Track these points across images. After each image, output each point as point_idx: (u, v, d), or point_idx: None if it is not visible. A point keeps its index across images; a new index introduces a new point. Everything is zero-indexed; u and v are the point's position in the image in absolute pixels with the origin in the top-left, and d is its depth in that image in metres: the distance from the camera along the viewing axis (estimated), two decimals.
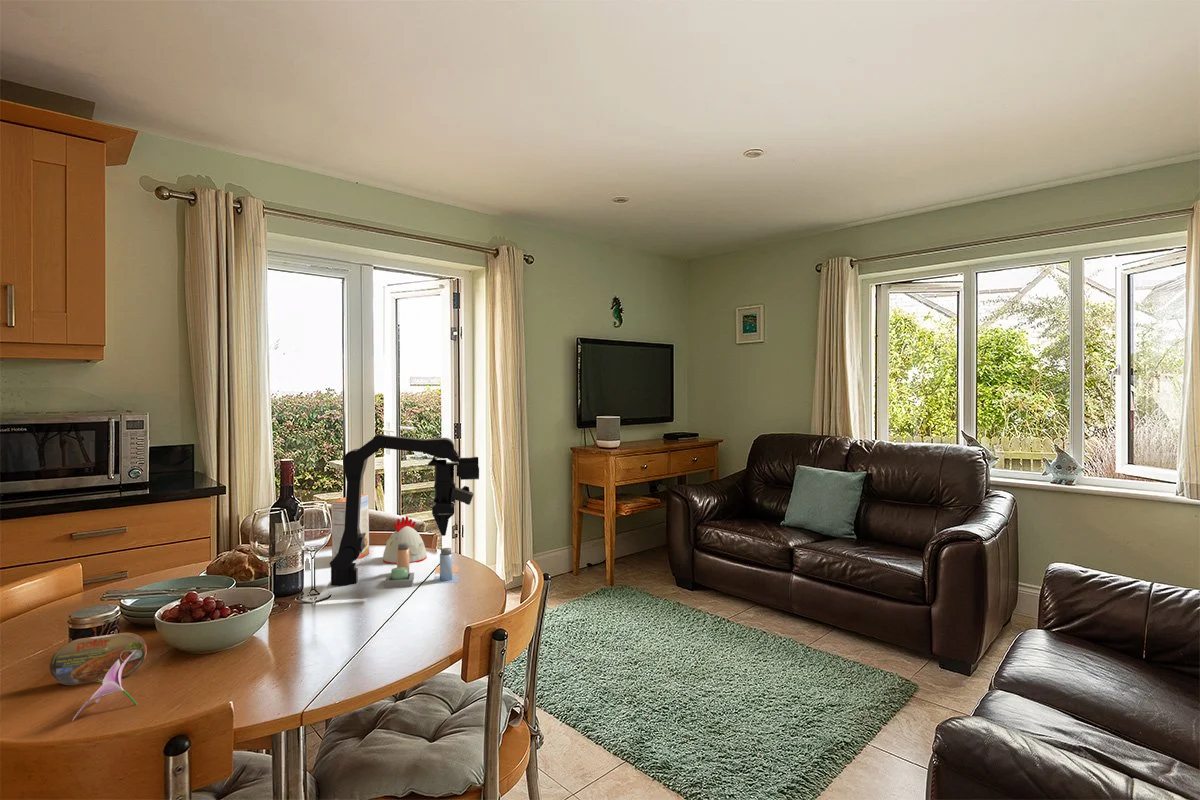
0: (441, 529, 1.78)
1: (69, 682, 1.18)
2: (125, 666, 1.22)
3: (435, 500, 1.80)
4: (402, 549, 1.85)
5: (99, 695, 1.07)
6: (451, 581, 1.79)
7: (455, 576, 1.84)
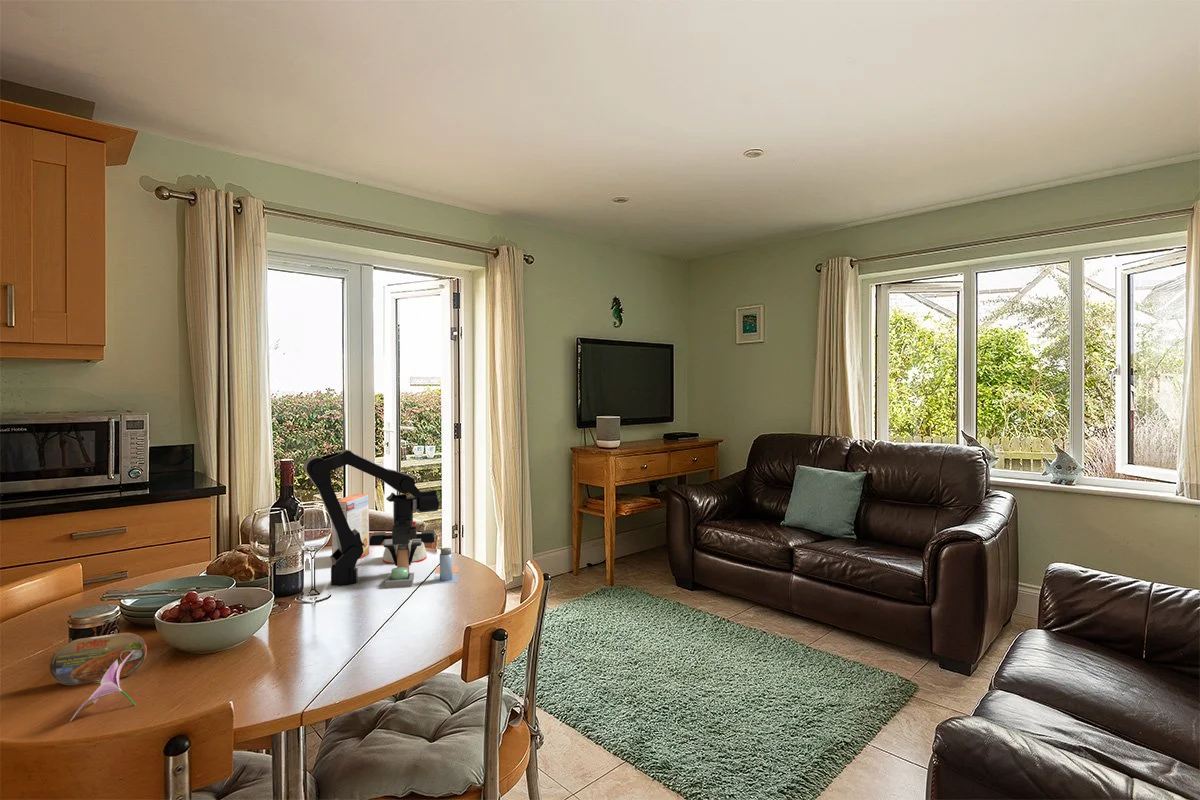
0: None
1: (69, 682, 1.18)
2: (125, 666, 1.22)
3: None
4: (402, 549, 1.85)
5: (97, 696, 1.07)
6: (451, 581, 1.79)
7: (455, 576, 1.84)
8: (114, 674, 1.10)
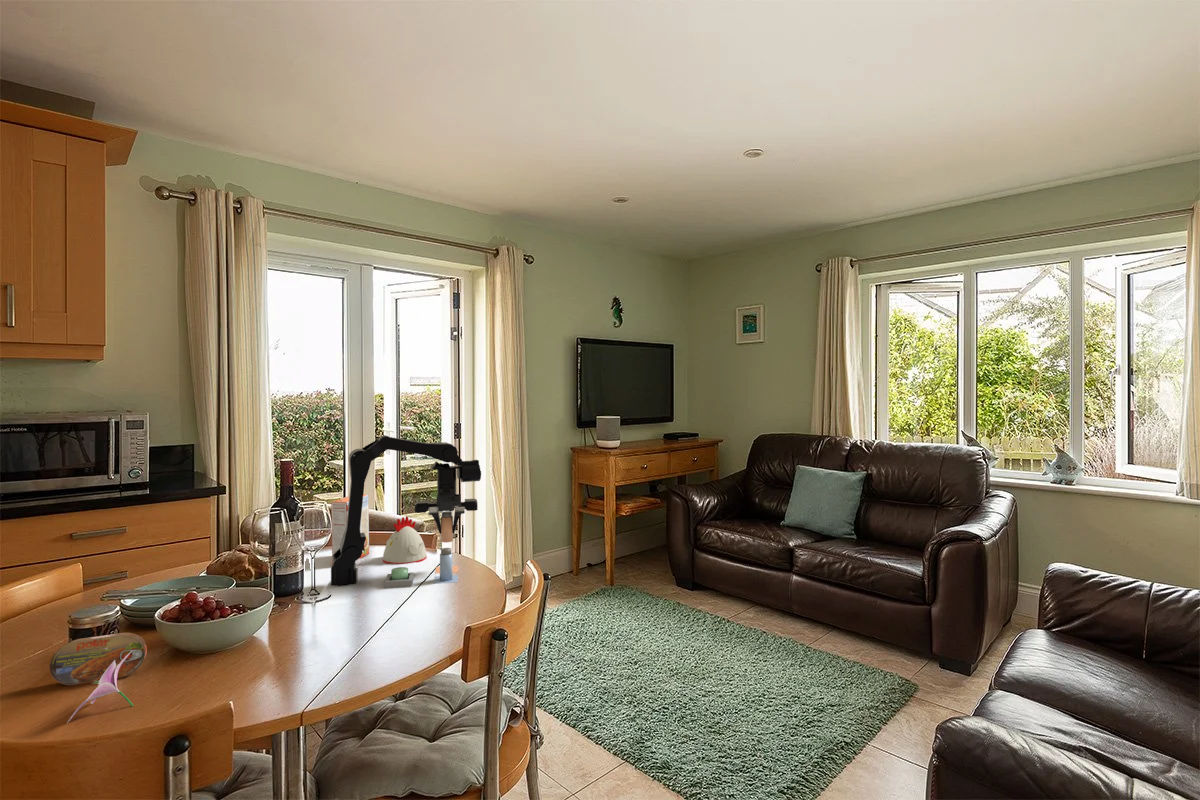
0: None
1: (69, 682, 1.18)
2: (125, 666, 1.22)
3: None
4: (446, 517, 1.89)
5: (95, 696, 1.07)
6: (451, 581, 1.79)
7: (455, 576, 1.84)
8: (112, 675, 1.09)
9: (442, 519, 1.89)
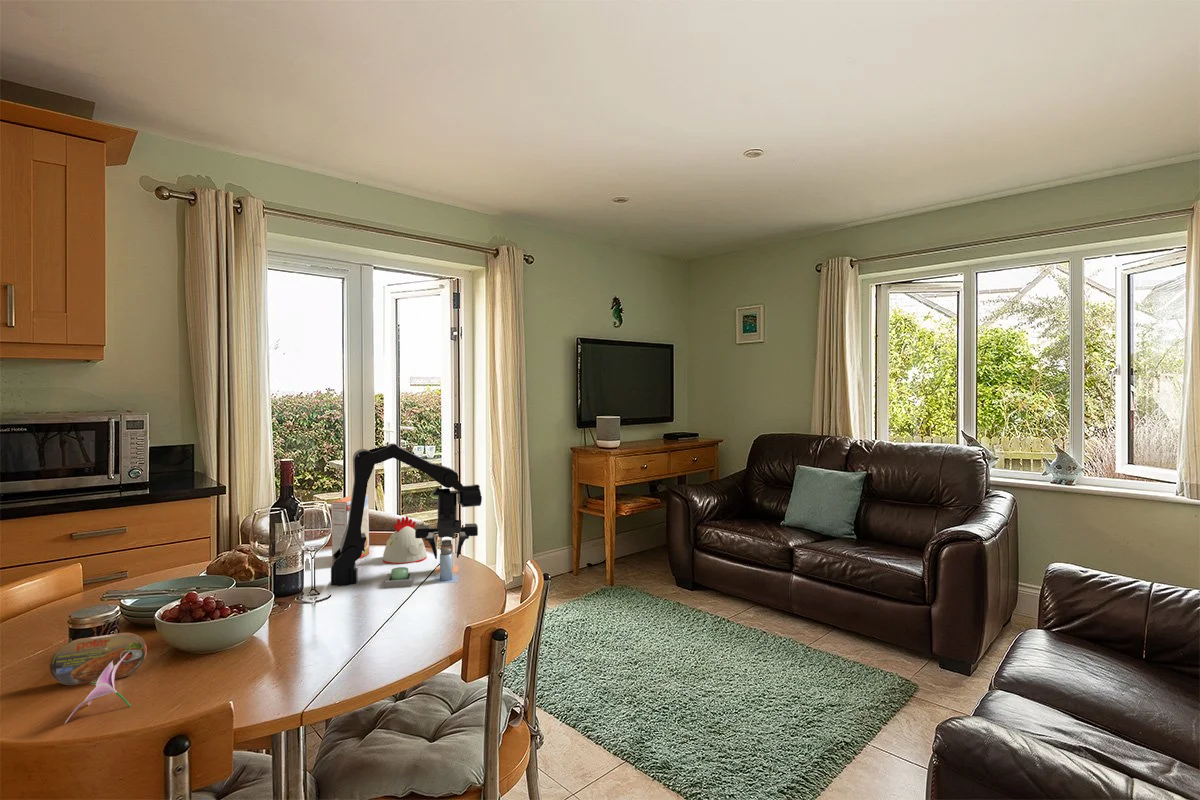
0: None
1: (69, 682, 1.18)
2: (125, 666, 1.22)
3: None
4: (446, 545, 1.89)
5: (92, 697, 1.07)
6: (451, 581, 1.79)
7: (455, 576, 1.84)
8: (109, 675, 1.09)
9: None
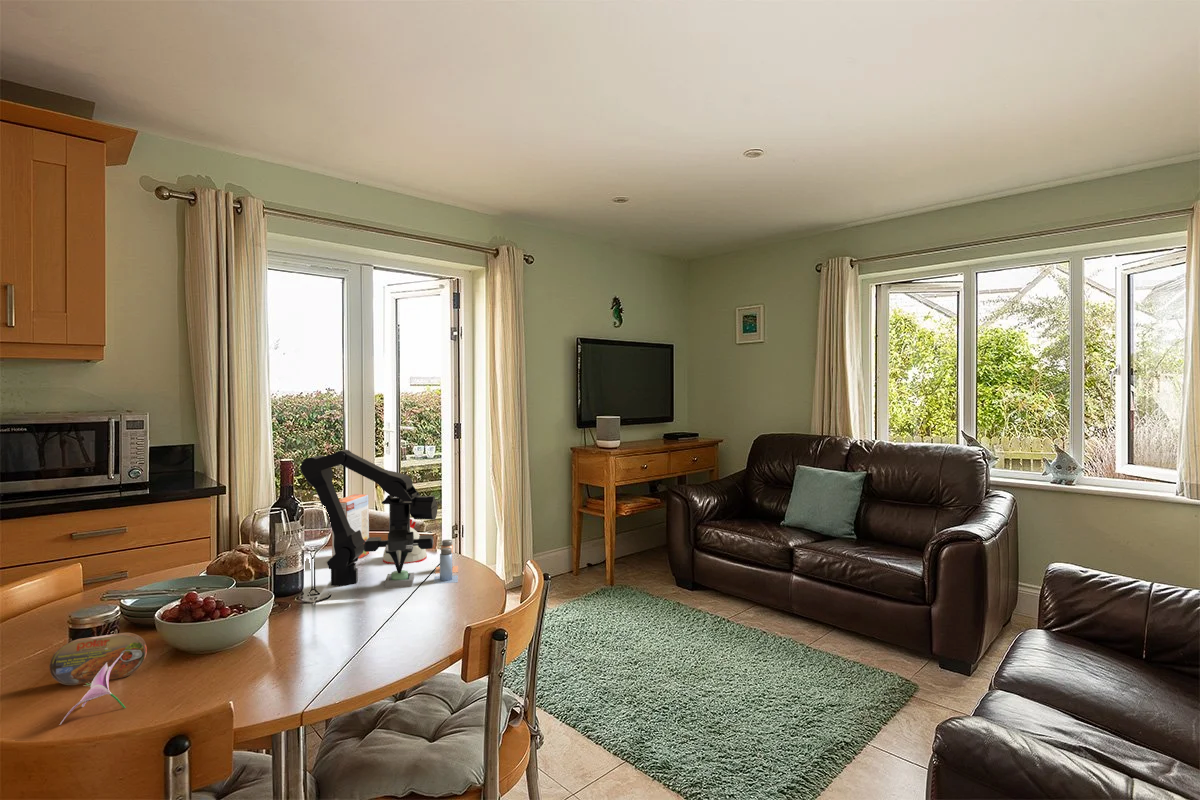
0: None
1: (69, 682, 1.18)
2: (125, 666, 1.22)
3: None
4: (446, 545, 1.89)
5: (87, 699, 1.06)
6: (451, 581, 1.79)
7: (455, 576, 1.84)
8: (104, 677, 1.08)
9: None
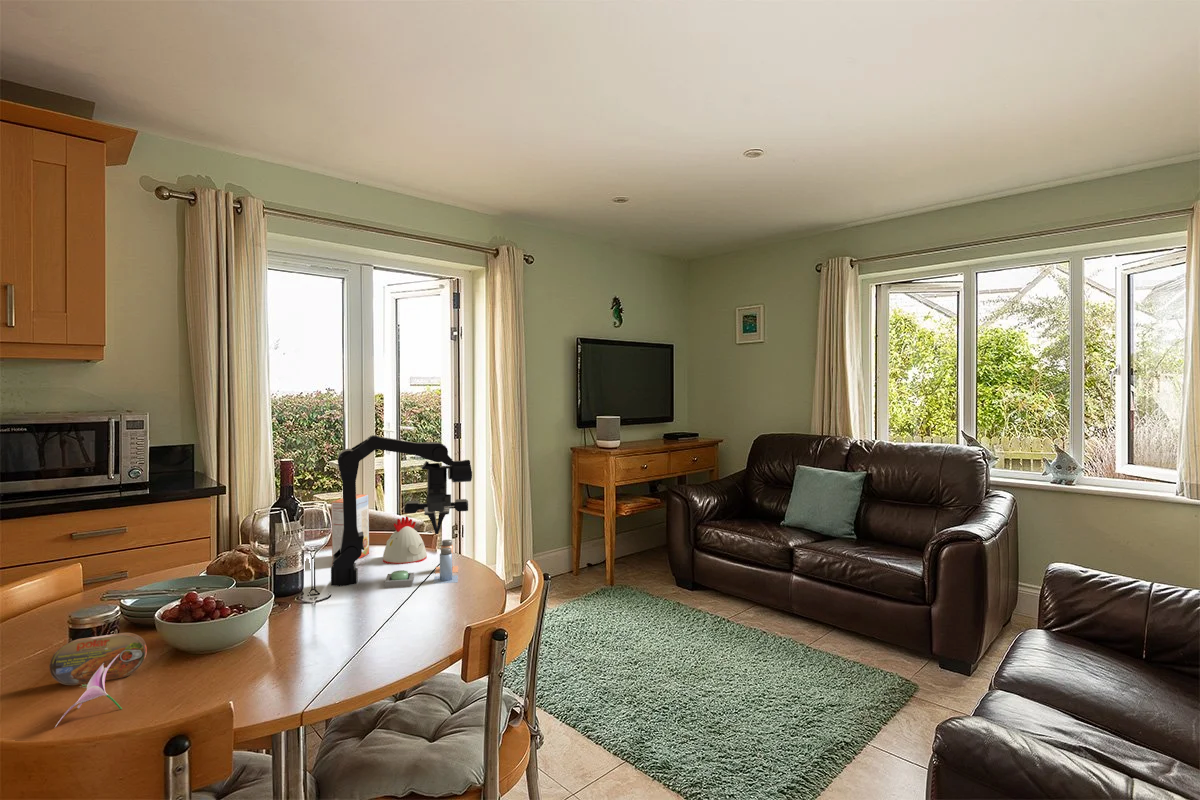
0: None
1: (69, 682, 1.18)
2: (125, 666, 1.22)
3: None
4: (446, 545, 1.89)
5: (83, 700, 1.06)
6: (451, 581, 1.79)
7: (455, 576, 1.84)
8: (100, 678, 1.08)
9: None
